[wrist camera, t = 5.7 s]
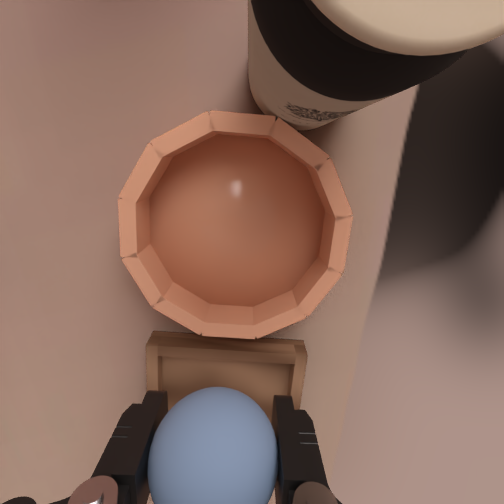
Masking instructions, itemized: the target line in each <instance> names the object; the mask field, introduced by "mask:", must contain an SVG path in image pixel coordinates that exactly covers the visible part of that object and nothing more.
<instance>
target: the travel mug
mask: <svg viewBox="0 0 504 504" xmlns="http://www.w3.org/2000/svg"><path fill="white" fill-rule="evenodd" d="M503 34H504V0H248V77H249V84H250V89H251V92H252V95H253V97H254V100H255V102H256V103H257V105H258V107H259V108H260V110H261V111H262V112H263V113H264V114H265V115H270V116H276V118H275V121H276V120H277V118H278V117H279V118H280V119H282V120H283V121H284V122H286V123H287V124H288V125H290V126H291V127H292V128H294V129H295V130H311V129H315V128H318V127H320V126H323V125H325V124H327V123H330V122H332V121H334V120H337V119H339V118H341V117H343V116H346V115H348V114H350V113H353V112H355V111H357V110H360V109H362V108H364V107H366V106H369V105H371V104H373V103H376V102H378V101H380V100H383V99H385V98H387V97H389V96H392V95H394V94H396V93H399V92H401V91H403V90H406V89H408V88H410V87H412V86H415V85H417V84H419V83H422V82H424V81H426V80H428V79H430V78H432V77H434V76H435V75H437V74H439V73H440V72H442V71H443V70H445V69H446V68H448V67H449V66H451V65H452V64H453V63H454V62H456V61H457V60H458V59H459V58H461V56H463V55H464V54H465V53H466V52H467V51H468V50H469V49H470V48H472V47H475V46H478V45H480V44H483V43H486V42H488V41H491V40H492V39H495V38H497V37H499V36H501V35H503Z"/></svg>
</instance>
